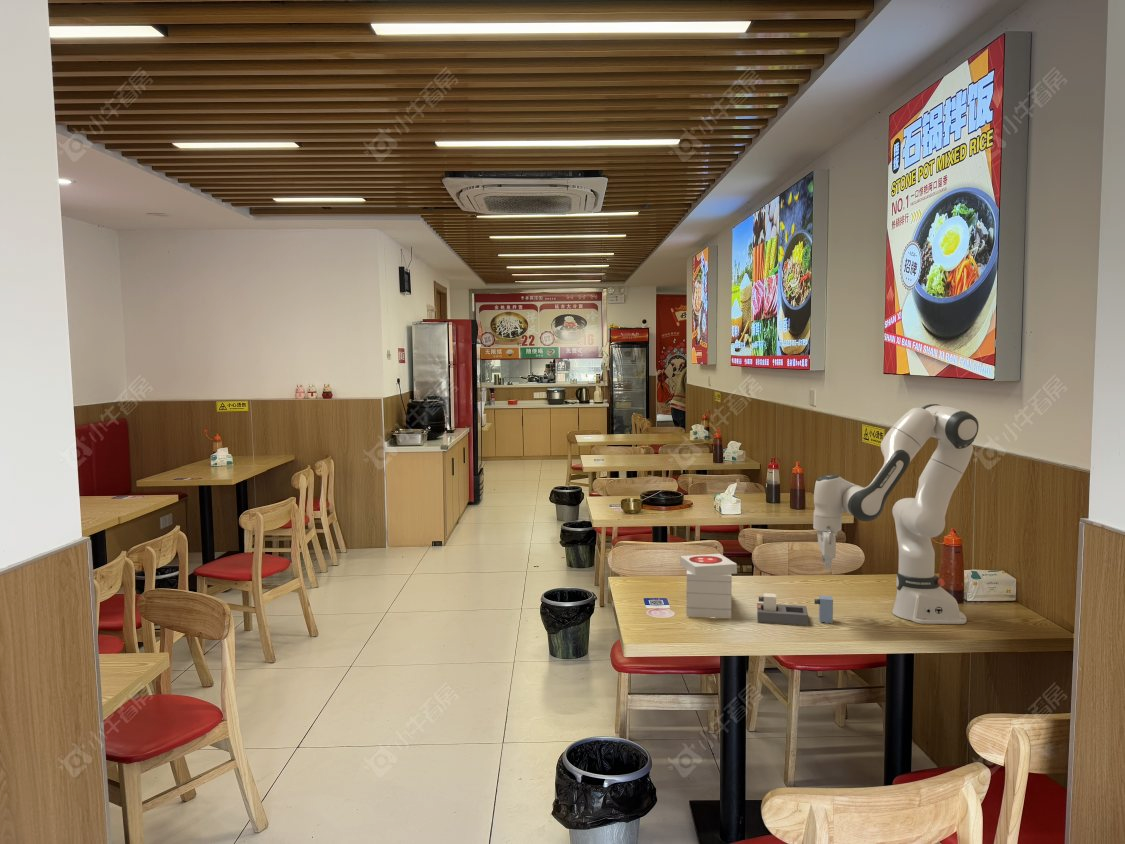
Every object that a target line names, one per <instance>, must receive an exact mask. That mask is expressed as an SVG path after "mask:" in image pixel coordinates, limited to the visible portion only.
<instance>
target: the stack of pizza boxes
mask: <svg viewBox="0 0 1125 844" xmlns="http://www.w3.org/2000/svg"><path fill="white" fill-rule="evenodd" d="M679 564H680V566H681V567H683V569H685V570H686V617H687V616H691V617H690V618H695V617H715V618H714V619H717V618H731V619H732V582H733V580H732V578H733V577H732V574H735V575H736V574H738V564H737V563H736V562H734V561H732V560H731V559H729V558H728V557H726V556H724V555H723V554H722V553H711V554H709V553H708V554H696V555H695V554H694V555H692V554H691V555H680V556H679Z"/></svg>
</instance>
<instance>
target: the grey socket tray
mask: <svg viewBox="0 0 1125 844" xmlns="http://www.w3.org/2000/svg"><path fill="white" fill-rule="evenodd" d="M763 603H764V602H758V603H757V604H756V616H757V619H756V620H757V623H763V624H775V625H788V624H789V625H790V626H803V625H808V626H809V613H808V608H807V605H796V604H778V603H776V611H766V610H763ZM791 624H792V625H791ZM794 624H795V625H794Z"/></svg>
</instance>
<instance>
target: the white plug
mask: <svg viewBox="0 0 1125 844" xmlns="http://www.w3.org/2000/svg"><path fill="white" fill-rule="evenodd" d="M758 602H760V603H763V610H766V611H776V604H777V593H767V592H764V593H763V596H758Z"/></svg>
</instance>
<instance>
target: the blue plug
mask: <svg viewBox="0 0 1125 844" xmlns="http://www.w3.org/2000/svg"><path fill="white" fill-rule="evenodd" d="M813 602H814V605H818V621H819V623H820V622H825V623H824V624H829V623H834V622H833V621H834V620H833V619H834V598H833V596H832V595H831V596H830V595H819V596H818V598H814V600H813Z"/></svg>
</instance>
